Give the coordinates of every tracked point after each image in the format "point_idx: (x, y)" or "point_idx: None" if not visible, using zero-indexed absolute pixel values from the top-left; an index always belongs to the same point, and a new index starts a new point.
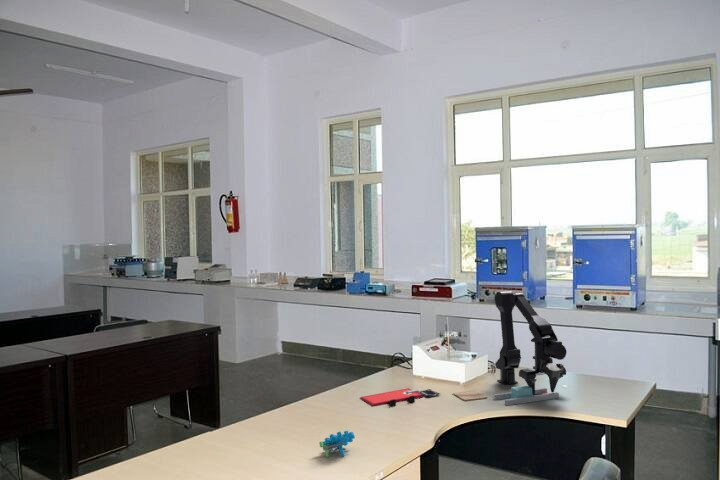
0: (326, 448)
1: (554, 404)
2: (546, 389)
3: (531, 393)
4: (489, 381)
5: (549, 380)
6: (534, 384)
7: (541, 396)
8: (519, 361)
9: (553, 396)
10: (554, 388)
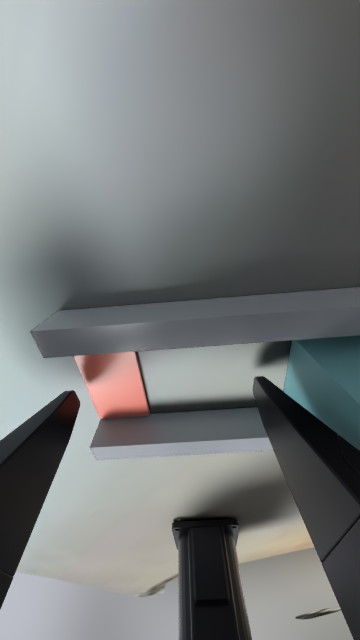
0: None
1: (210, 108)
2: (98, 439)
3: (336, 370)
4: (259, 541)
5: (27, 535)
6: (357, 485)
7: (254, 310)
8: None
9: (108, 314)
10: (36, 416)
